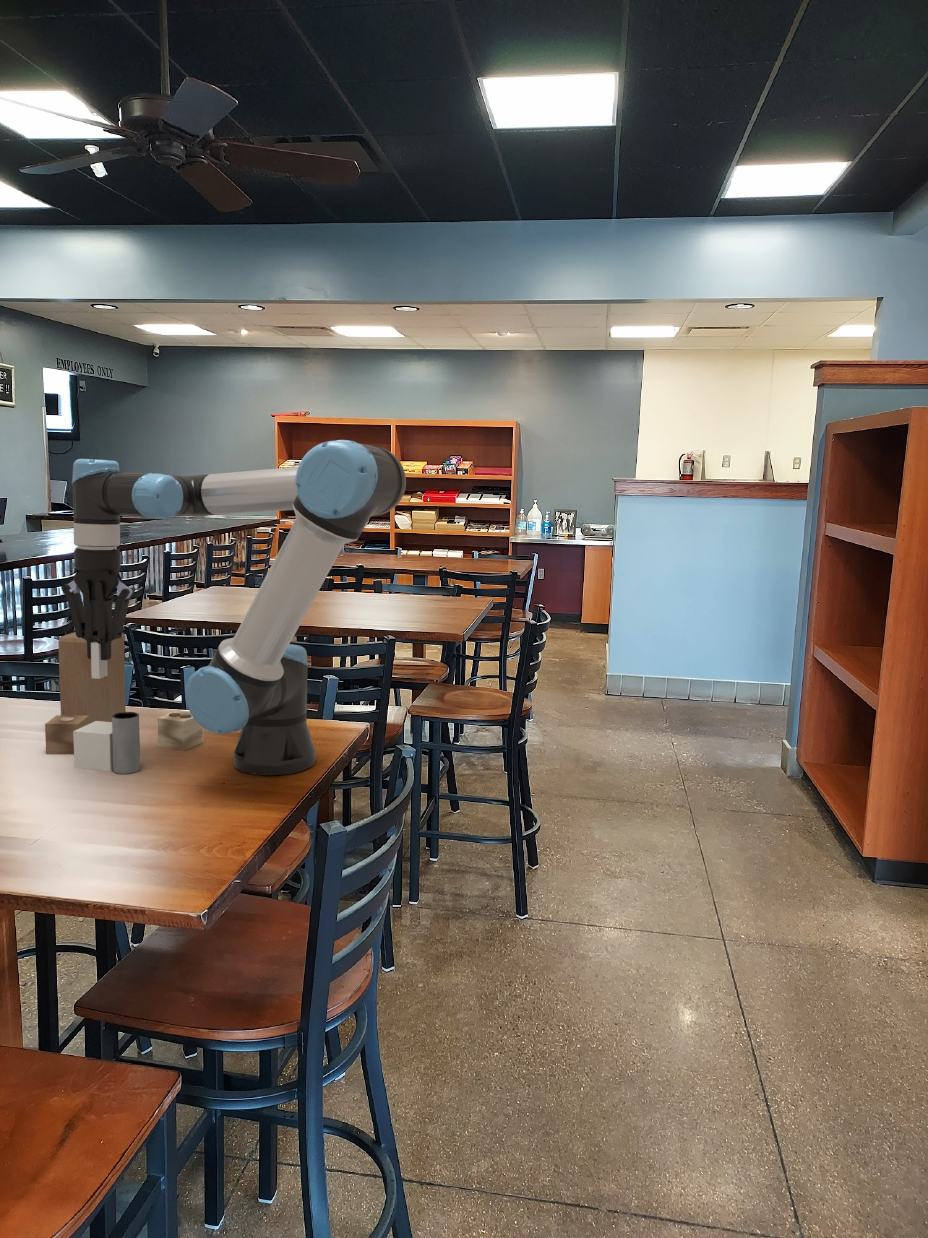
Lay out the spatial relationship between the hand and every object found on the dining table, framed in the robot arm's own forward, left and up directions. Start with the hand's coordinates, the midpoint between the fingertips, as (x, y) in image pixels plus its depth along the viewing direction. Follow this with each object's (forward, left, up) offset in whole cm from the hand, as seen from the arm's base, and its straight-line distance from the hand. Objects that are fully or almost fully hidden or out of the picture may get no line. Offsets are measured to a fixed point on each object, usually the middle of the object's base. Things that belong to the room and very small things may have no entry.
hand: (99, 676), depth 148 cm
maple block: (-8, -14, -17) cm, 23 cm away
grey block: (0, 0, -17) cm, 17 cm away
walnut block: (+11, -6, -17) cm, 20 cm away
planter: (-6, +2, -17) cm, 18 cm away
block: (+15, -21, -17) cm, 31 cm away
